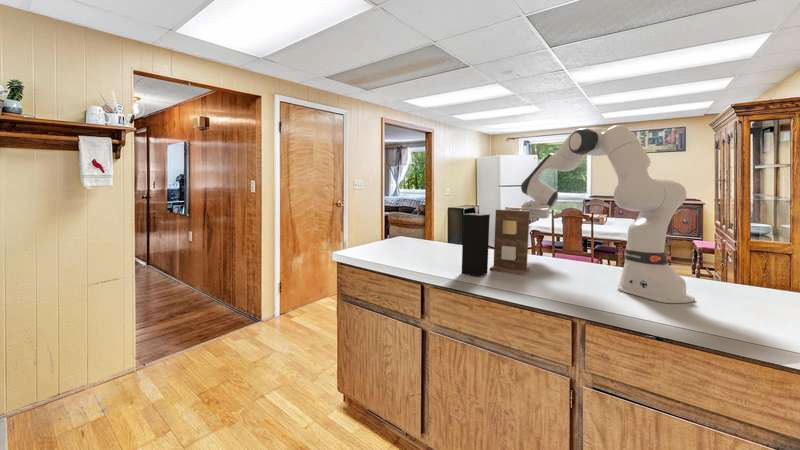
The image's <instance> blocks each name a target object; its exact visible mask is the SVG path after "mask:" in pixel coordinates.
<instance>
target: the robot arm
mask: <svg viewBox="0 0 800 450" xmlns="http://www.w3.org/2000/svg"><path fill="white" fill-rule="evenodd" d="M586 156H595V157H596V156H599V157H600V156H607V158H608V161H609V162H610V164H611V166H612V168H613V170H614V172H615V173H616V176H617V186H616V187H615V189H614V191H613V201H614V203H615V205H616V206H617V207H618V208H621V209H624V210H627V211H631V212H639V214H638V215H637V218H636V219H635V221H634V222H632V223H631V224H630V225H629V226H628V228H627V239H626V248H625V249H624V257H623V258H624V264H623V268H622V273H621V277H620V280H619V282H618V285H617V286H618V287H617V290H618V291H620V292H622V293H628V294H631V295H633V296H634V295H635V296H638V297H641V298H645V299H648V300H652V301H655V302H659V303H666V304H684V303H685V304H686V303H691V302H692V303H693V302H694V301H695V300H696V298H695V296H693V295H691V294H688V293H687V283H686V281H685V279H684V278H683V277H682V276H681V275H680V274H679V273H678V272H676V270H674V268H672V266H671V265H670V264H669V261H671V260H672V255H667V252H666V251H665V248H666V238H667V231H668V227H669V225H670V222H671V220H672V218H673V216H674V214H675V213H676V211H677V210H678V209H679V207H681V206H682V205H684V203H685V201H686V199H687V190H686V188H685V187H684V185H683V184H681V183H679V182H677V181H674V180H671V179H655V178H652V177H651V176H650V175H649V172H648V169H649V167H650V166H651V158H650V157H649V156H648V154H647V152H646V150H645V148H644V147H643V145H642V144H641V142H640V140H639V139H638V138H637V136H636V135H635V134H634V133H633V132H632V130H630V129H629V128H628V127H627V126H626V125H623V124H618V125H613V126H611V127H609V128H605V127H588V128H586V127H582V128H579V129H576V130H574V131H572V132H571V133H569V135H568V136H567V138H566V139H565V140H564V141H563V143H562V144H561V145H560V147H559V149H558V150H557V151H556V152H554V153H553V152H550V153H548V154H547V155H546V156H544V158H543V159H542V160H541V162H539V163H538V165H537V166H536V167H535V168H534V169H533V170H532V171H531V173H530V174H529V175H528V176H527V177H526V178H525V179H524V180H523V181H522V183H521V185H520V189H521V190H520V191H521V192H522V193H523V194H524V195H526V196H529V198H531V199H533V200H531V201H526V202H524V203H523V204H522V205H521V206H520V205H519V206H517V205H513V206H511V205H509V206H504V210H519V211H530V215H529V221H531V220H537V219H548V218H549V217H550V210H551V208H553V207H554V206H555V204H556V203H557V201H558V199H559V194H558V193H559V192H558V190H557V189H555V188H553V187H552V186H551V185H548V184H547V183H546V182H544V181H543V180H541V179H540V177H541V175H543V174H544V172H545V171H546V170H554V171H559V172H571V171H574V170H576V169H577V168H578V167H579V166H580V164H581V163H582V162H583V160H584V159H585V157H586Z"/></svg>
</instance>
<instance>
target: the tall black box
mask: <svg viewBox="0 0 800 450" xmlns="http://www.w3.org/2000/svg"><path fill="white" fill-rule="evenodd" d="M479 210H480V206H474V212H475V213H474V212H472V213H463V214H462V219H463V220H462V243H461V244H462V248H461V249H462V250H461V252H462V253H461V274H463V275H467V276H468V275H469V276H472V277H480V276H483V275H486V274H488V267H489V266H488V265H489V245H490V244H489V239H490V217H491V216H490V215H491V214H489V213H479Z"/></svg>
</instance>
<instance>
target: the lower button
mask: <svg viewBox="0 0 800 450" xmlns="http://www.w3.org/2000/svg"><path fill="white" fill-rule="evenodd" d="M515 258H516V247H509V246H502V255H501V259H505V260H513V261H515Z"/></svg>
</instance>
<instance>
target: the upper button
mask: <svg viewBox="0 0 800 450" xmlns="http://www.w3.org/2000/svg"><path fill="white" fill-rule="evenodd" d="M502 233H503V234H514V235H516V233H517V221H509V220H503V231H502Z"/></svg>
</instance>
